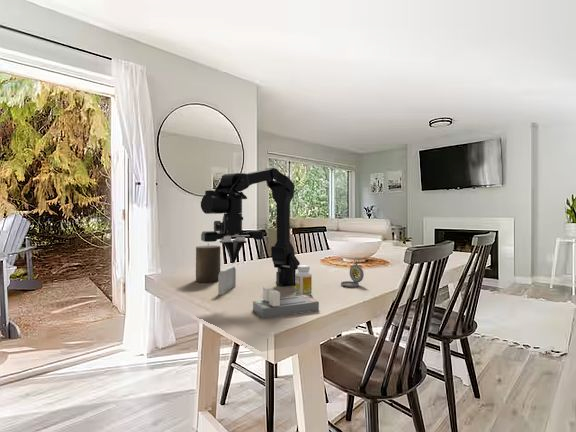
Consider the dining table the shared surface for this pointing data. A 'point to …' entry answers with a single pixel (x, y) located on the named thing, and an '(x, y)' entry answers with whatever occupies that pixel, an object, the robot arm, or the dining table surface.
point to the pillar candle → (207, 263)
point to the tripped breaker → (274, 298)
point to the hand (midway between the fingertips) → (232, 262)
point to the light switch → (226, 280)
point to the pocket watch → (354, 271)
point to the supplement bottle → (303, 281)
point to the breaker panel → (286, 306)
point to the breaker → (266, 292)
